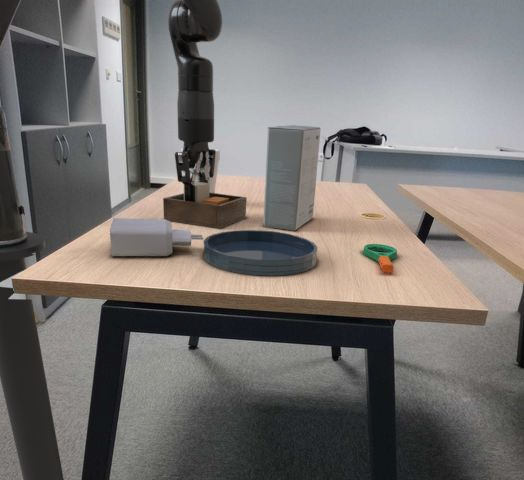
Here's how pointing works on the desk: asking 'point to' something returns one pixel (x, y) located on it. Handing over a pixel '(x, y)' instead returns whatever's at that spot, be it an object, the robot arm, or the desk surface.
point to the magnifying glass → (381, 255)
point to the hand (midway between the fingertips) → (196, 200)
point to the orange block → (216, 200)
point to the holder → (205, 211)
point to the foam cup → (212, 180)
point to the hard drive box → (290, 176)
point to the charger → (146, 237)
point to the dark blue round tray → (260, 252)
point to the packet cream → (201, 192)
